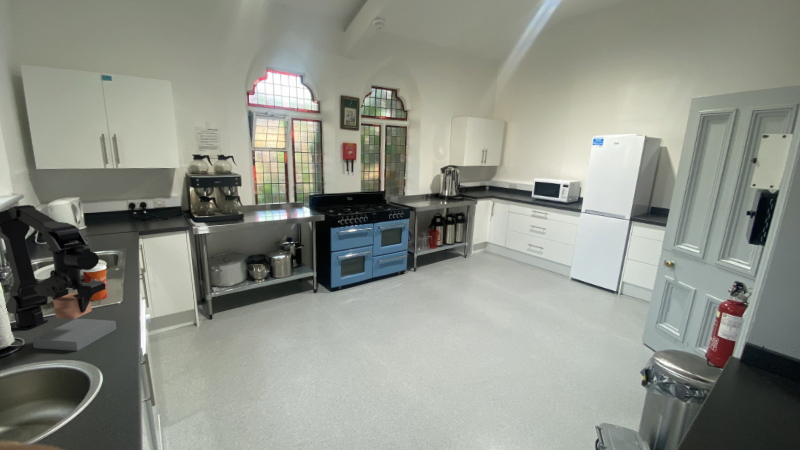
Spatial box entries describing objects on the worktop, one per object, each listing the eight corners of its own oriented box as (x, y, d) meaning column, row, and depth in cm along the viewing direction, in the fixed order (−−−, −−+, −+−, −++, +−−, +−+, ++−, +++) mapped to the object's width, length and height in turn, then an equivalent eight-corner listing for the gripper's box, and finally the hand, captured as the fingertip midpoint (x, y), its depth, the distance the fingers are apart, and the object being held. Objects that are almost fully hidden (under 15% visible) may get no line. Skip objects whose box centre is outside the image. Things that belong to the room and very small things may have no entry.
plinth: (33, 348, 106) (32, 339, 106) (77, 326, 120) (76, 318, 120) (77, 350, 106) (76, 341, 105) (116, 328, 120) (115, 320, 119)
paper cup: (95, 302, 139) (91, 269, 136) (80, 300, 140) (76, 267, 137) (115, 295, 146) (111, 264, 144) (100, 293, 148) (96, 262, 145)
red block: (55, 317, 109) (53, 300, 108) (74, 309, 115) (71, 292, 113) (74, 319, 109) (71, 301, 107) (91, 310, 114) (89, 293, 113)
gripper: (8, 271, 101) (17, 321, 104) (70, 275, 100) (77, 325, 103) (48, 260, 112) (55, 305, 115) (104, 264, 111) (109, 309, 114)
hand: (73, 311), depth 111 cm, fingers closed on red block, 6 cm apart
